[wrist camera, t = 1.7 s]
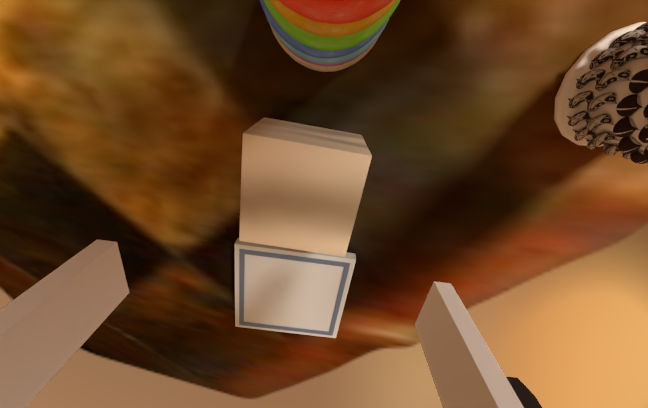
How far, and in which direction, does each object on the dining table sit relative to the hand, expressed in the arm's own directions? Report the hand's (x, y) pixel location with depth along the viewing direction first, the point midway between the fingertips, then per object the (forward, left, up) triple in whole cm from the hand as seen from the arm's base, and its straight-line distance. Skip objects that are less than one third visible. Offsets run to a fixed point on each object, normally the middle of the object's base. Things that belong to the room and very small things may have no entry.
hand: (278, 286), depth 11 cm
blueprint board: (+14, 0, -13) cm, 19 cm away
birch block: (0, 0, -14) cm, 14 cm away
